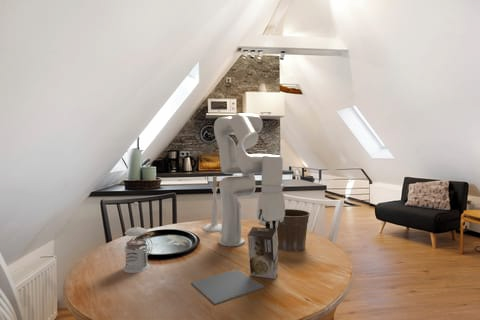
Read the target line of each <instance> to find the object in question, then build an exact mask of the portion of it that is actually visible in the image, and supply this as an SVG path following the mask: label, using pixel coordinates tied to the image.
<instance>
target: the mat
mask: <svg viewBox="0 0 480 320" xmlns="http://www.w3.org/2000/svg"><path fill="white" fill-rule="evenodd" d="M190 284H191V285H192V286H194V287H195V288H196V289H197V290H198V291H199V292H200V293H201V294H202V295H203V296H204V297H206V298H207V299H208V301H210V302H211V303H212V304H213V305H215V306H216V305H218V304H221V303H224V302H227V301H230V300H233V299H236V298H239V297H242V296H244V295H248V294H250V293H253V292H255V291H258V290H262V289H265V285H263V284H262V283H260V282H258V281H256V280H255V279H253V278H252V277H251V276H248V275H247V274H245V273H243V272H242V271H240V270H239V269H234V270H230V271H227V272H223V273H220V274H217V275H212V276H208V277H205V278H201V279H198V280H195V281H191V283H190Z"/></svg>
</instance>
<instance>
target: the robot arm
mask: <svg viewBox="0 0 480 320" xmlns="http://www.w3.org/2000/svg"><path fill="white" fill-rule="evenodd" d="M263 124H264V123H263V120H262V118H261V116H259V115H258V114H255V113H236V114H234V115H232V116H222V117H221V116H220V117H217V119H215V121H214V124H213V130H214V131H213V132H214V136H215V137H214V138H215V140H216V143H217V146H218V153H219V163H220V165H219V166H220V170H221V172H222V173H223V174H226V175H232V176H225V177H223V178H222V179H221V180H219V193H220V200H221V224H222V231H221V232H219V235H220V238H219V239H218V241H217V242H218V244H219V245H220V246H224V247H238V246H239V247H240V246H242V245H244V244H245V243H246V241H245V238H244V237H242V204H241V202H240V201H239V199H238V198H237V197H243V196H244V197H245V196H251V195H252V196H253V194H254V193H255V191H256V175H261V192H259V195H258V199H257V207H256V208H257V209H256V218H257V219H256V220H259V222H258V224H259V225H260V226H264V228H272V229H276V230H277V228H278V225H279V223H280V222H282V221H283V220H284V219H283V218H284V217H285V209H286V203H285V201H286V200H285V196H284V192H283V189H284V188H285V187H284V185H283V163H284V162H283V157H282V156H281V155H278V154H277V155H276V154H269V153H268V154H267V153H248V152H247V150H249V149H251V148H253V147H255V145H256V144H257V143H258V142H259V135H258V134H259V133H260V132H261V131H263V130H262V129H263ZM230 135H231V136H232V135H234V136H235V138H236V139H237V144H236V142H235V141H234V139H233V138H232V137H231V136H230ZM234 174H235V175H236V176H235V175H234ZM239 174H240V175H241V176H237V175H239Z"/></svg>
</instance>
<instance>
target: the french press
mask: <svg viewBox="0 0 480 320" xmlns="http://www.w3.org/2000/svg"><path fill="white" fill-rule="evenodd" d="M132 206H135V207H134V208H137V206H139V202H137V201H135V202H133V204H132ZM147 232H148V230H147V229H146V228H144V227H140V226H134V227H131V228H129V229H127V230H125V232H124V234H125V236H129V237H135V239H132V240H129V241H126V244H125V245H126V246H125V249H124V250H125V251H124V253H125V265H124V266H123V268H122V271H123V272H125V273H128V274H135V273H136V274H138V273H141V272H144V271H146V270H149V269H150V266H151V265H150V263H149V262H148V256H149V255H150V254H151V253H152V251H153V248H151V249H150V248H148V245H150V243H151V245H153V242H152V239H151V238H150V236H149V235H146V236H144V235H145V234H147ZM142 235H143V237H142V239H140V238H138V237H137V236H142ZM148 239H149V241H150V243H149V241H148Z"/></svg>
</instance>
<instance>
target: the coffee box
mask: <svg viewBox="0 0 480 320" xmlns="http://www.w3.org/2000/svg"><path fill="white" fill-rule="evenodd" d="M247 244H248V247H247V248H248V258H249V259H248V260H249V271H250V277H251V276H252V277H259V278H265V279H273V280H275V279H276V277H277V273H278V272H279V257H278V239H277V229H272V228H266V227H260V226H259V227H258V226H252V227H251V229H250V231H249V232H248V234H247Z"/></svg>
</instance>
